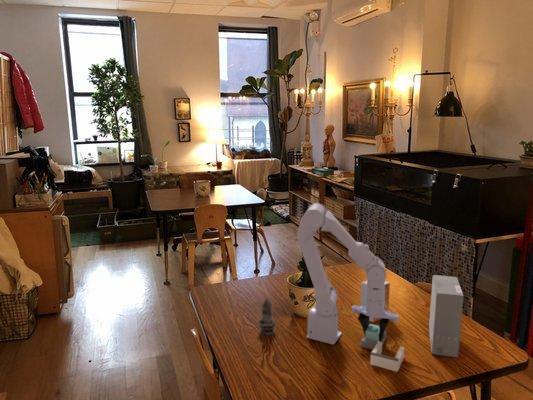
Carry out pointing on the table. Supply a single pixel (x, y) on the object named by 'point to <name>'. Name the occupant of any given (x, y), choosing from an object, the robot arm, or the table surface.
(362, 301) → the small box
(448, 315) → the hard drive box
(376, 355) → the port
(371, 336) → the plug
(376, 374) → the table surface
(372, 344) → the frame
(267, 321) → the grey ridged spire
